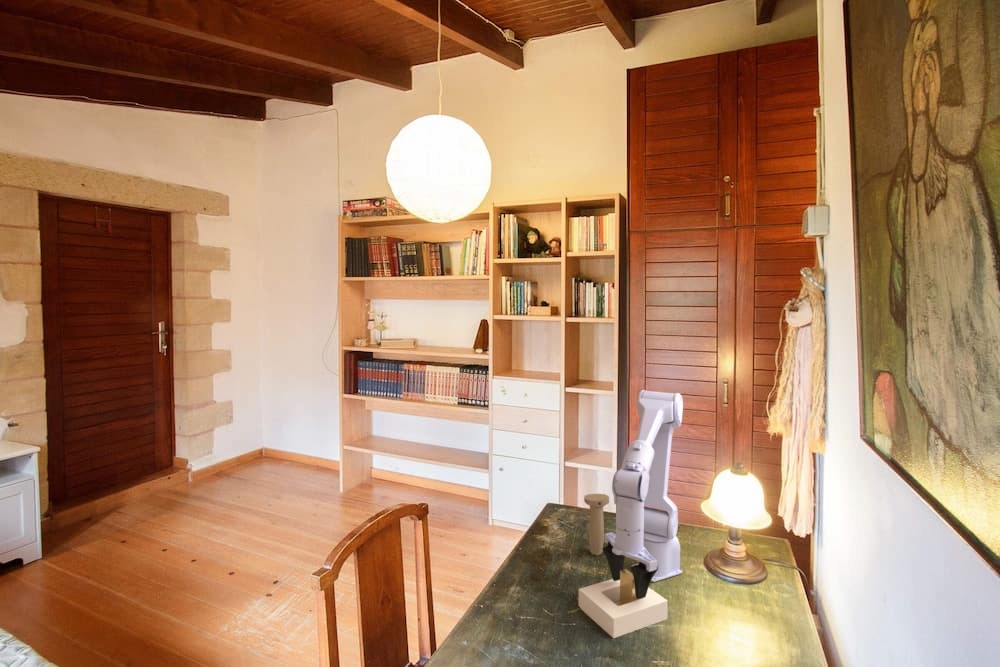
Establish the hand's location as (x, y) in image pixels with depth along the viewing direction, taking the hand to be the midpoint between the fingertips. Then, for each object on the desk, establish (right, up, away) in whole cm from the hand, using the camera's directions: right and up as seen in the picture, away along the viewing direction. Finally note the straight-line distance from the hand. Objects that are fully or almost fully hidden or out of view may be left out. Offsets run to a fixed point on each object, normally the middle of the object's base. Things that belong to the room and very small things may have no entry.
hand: (628, 588), depth 114 cm
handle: (-2, -3, +26) cm, 26 cm away
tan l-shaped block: (-2, -5, 0) cm, 5 cm away
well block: (-2, -5, 0) cm, 5 cm away
